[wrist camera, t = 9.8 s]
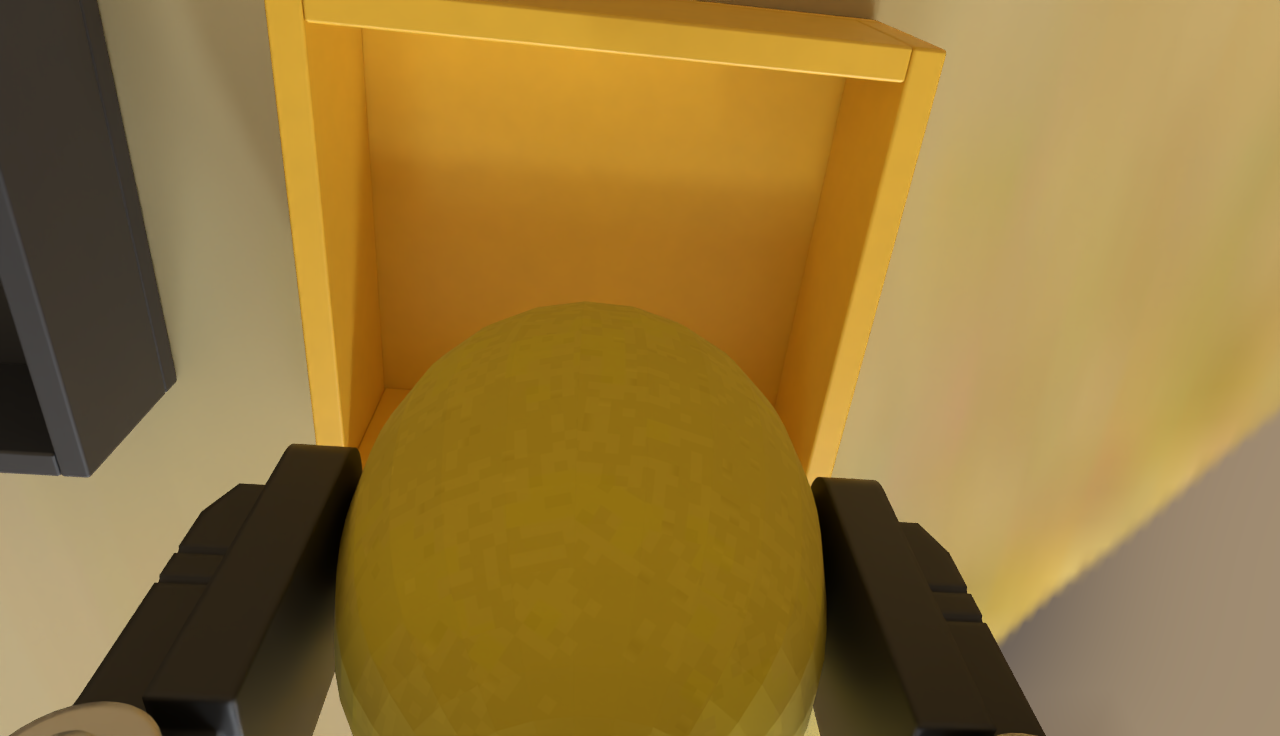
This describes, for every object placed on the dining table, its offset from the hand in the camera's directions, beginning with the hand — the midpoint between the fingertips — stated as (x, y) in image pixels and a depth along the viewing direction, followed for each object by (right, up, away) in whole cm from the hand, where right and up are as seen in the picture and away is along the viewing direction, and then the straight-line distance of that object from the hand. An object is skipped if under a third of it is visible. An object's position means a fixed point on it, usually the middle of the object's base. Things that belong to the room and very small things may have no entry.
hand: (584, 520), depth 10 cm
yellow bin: (0, +5, +9) cm, 10 cm away
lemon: (0, +2, +3) cm, 4 cm away
